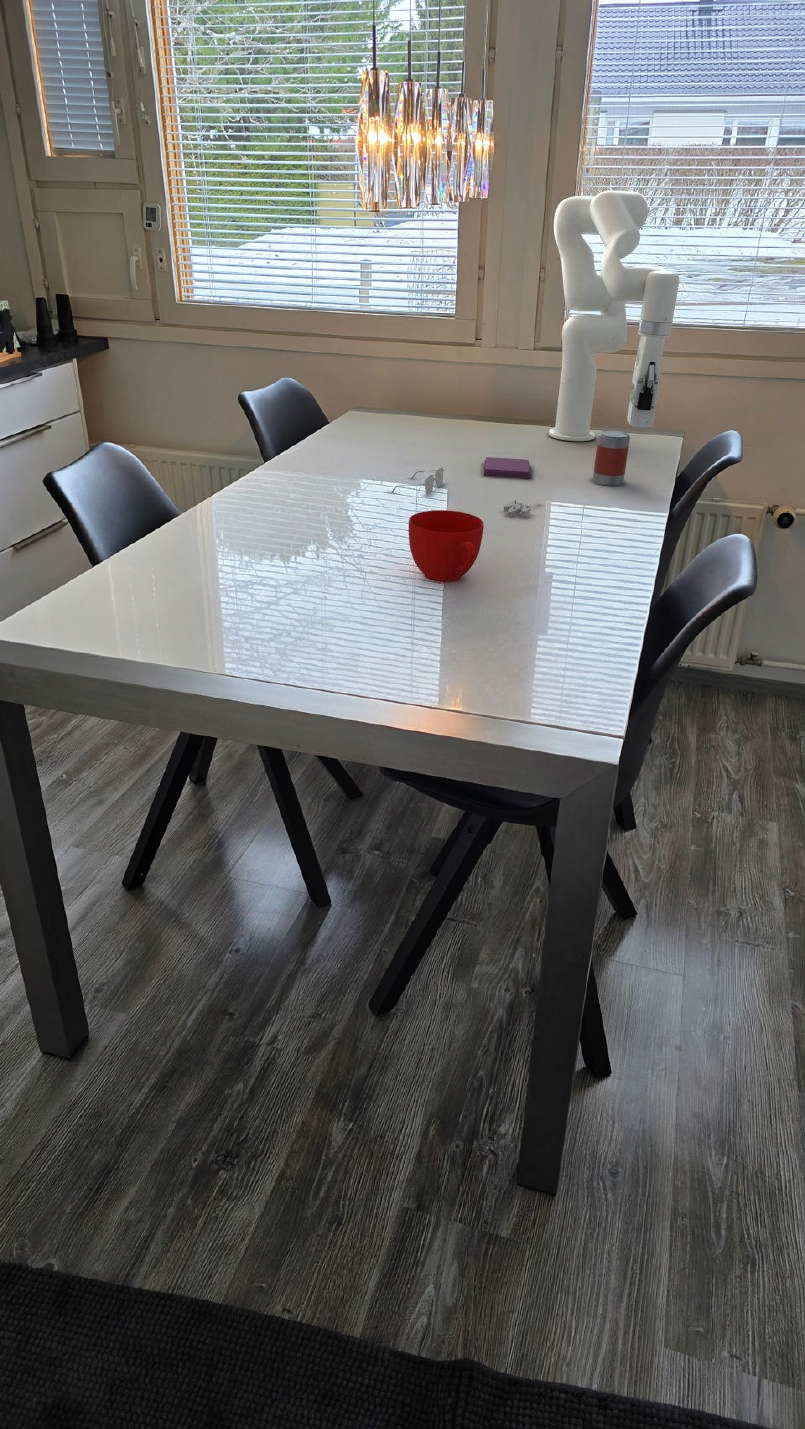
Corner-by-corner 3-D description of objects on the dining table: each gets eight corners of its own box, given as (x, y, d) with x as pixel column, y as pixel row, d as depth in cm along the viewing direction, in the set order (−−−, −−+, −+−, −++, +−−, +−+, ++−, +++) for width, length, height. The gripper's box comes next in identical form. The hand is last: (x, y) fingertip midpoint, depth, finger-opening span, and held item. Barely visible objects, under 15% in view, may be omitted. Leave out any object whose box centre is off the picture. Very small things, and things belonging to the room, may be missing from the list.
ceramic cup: (434, 601, 166) (438, 543, 161) (394, 567, 180) (396, 513, 175) (503, 592, 171) (508, 536, 166) (459, 560, 184) (463, 507, 180)
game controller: (499, 515, 210) (500, 503, 209) (514, 502, 220) (515, 490, 218) (525, 519, 208) (526, 507, 207) (539, 506, 218) (541, 494, 217)
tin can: (591, 476, 241) (597, 429, 236) (621, 478, 241) (628, 431, 235) (593, 485, 235) (600, 436, 229) (625, 487, 234) (632, 438, 229)
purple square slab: (484, 463, 248) (485, 456, 247) (528, 466, 248) (529, 459, 247) (483, 476, 238) (484, 469, 237) (529, 479, 237) (530, 472, 236)
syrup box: (653, 428, 244) (663, 366, 237) (629, 427, 244) (638, 365, 237) (648, 422, 249) (659, 362, 242) (625, 421, 249) (634, 361, 242)
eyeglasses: (425, 498, 219) (424, 479, 218) (391, 496, 222) (390, 478, 220) (444, 482, 231) (444, 465, 229) (412, 481, 234) (411, 463, 232)
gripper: (634, 322, 244) (623, 398, 252) (643, 333, 229) (630, 413, 237) (665, 324, 243) (653, 400, 252) (676, 335, 228) (662, 416, 237)
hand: (642, 406), depth 245 cm, fingers closed on syrup box, 6 cm apart
